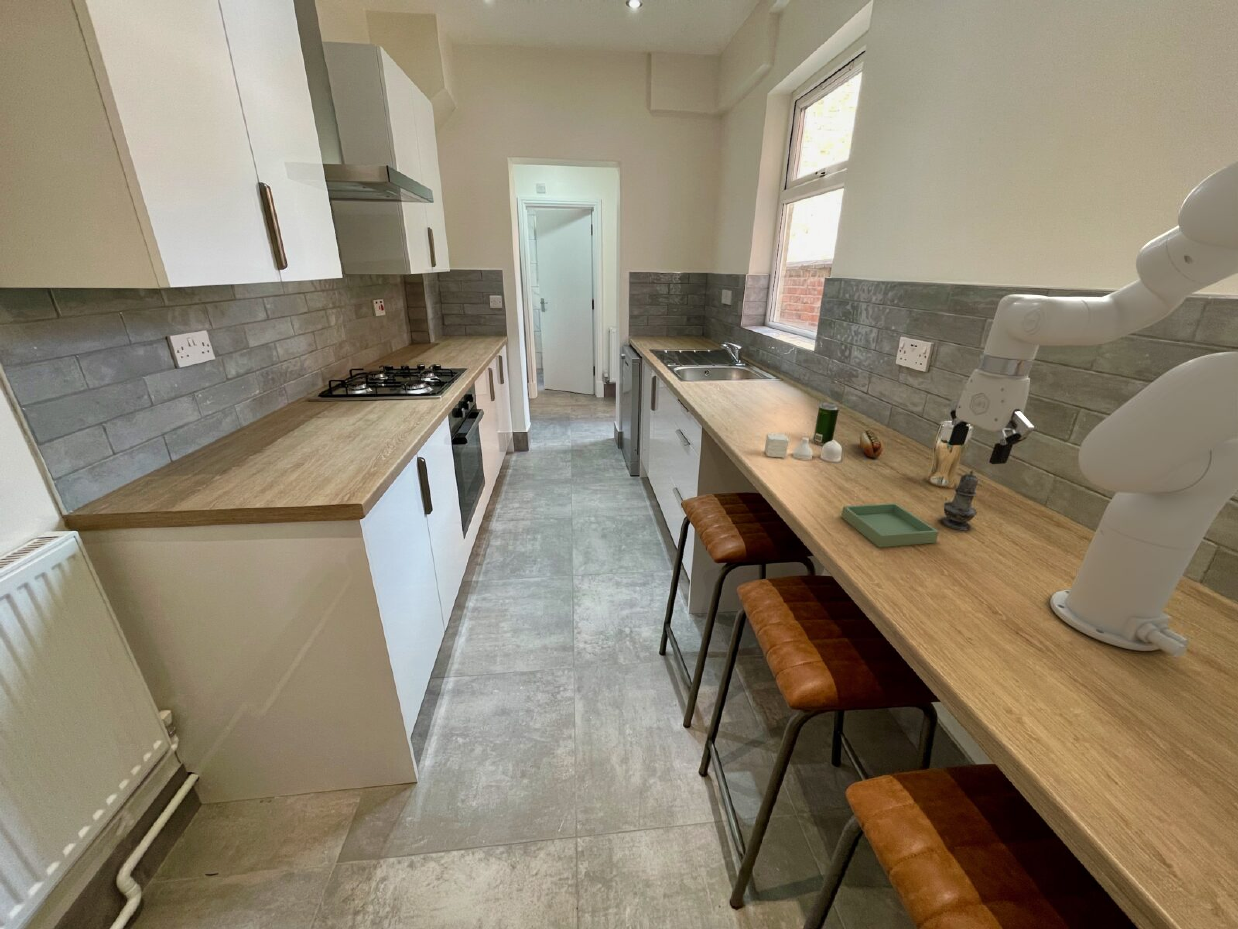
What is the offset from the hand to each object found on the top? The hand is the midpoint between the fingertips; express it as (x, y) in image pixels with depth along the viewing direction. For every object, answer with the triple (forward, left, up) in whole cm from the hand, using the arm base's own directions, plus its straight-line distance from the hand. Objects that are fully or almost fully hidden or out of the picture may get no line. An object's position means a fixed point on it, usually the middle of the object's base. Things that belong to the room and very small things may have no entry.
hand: (975, 453), depth 95 cm
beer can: (+50, 0, -16) cm, 52 cm away
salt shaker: (0, 0, -16) cm, 16 cm away
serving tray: (0, +16, -15) cm, 22 cm away
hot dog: (+41, -9, -16) cm, 44 cm away
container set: (+40, +12, -16) cm, 44 cm away
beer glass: (+19, -13, -16) cm, 28 cm away
